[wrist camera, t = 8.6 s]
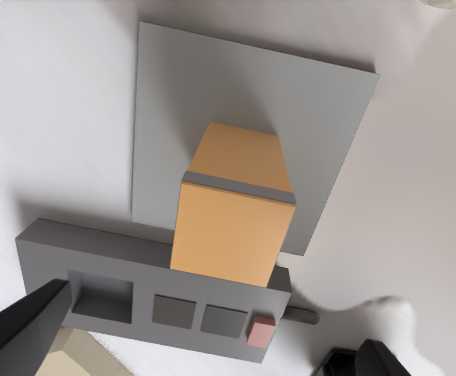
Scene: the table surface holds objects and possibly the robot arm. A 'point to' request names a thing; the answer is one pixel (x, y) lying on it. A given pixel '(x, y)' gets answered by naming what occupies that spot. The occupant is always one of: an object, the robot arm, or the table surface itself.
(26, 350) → the robot arm
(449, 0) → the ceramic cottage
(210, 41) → the mat
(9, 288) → the table surface
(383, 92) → the table surface
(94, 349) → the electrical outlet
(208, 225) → the orange square peg
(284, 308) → the power strip
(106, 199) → the table surface
